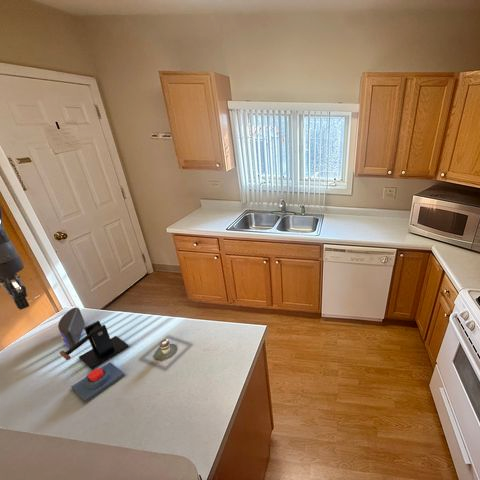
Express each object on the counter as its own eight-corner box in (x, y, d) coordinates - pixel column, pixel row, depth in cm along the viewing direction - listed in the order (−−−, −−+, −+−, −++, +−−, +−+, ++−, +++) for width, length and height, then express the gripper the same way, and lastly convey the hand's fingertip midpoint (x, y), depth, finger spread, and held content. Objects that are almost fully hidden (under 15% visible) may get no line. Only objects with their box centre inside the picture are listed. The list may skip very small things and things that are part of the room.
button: (93, 383, 82) (91, 379, 81) (87, 378, 83) (85, 374, 83) (106, 375, 85) (104, 371, 84) (100, 370, 86) (99, 366, 86)
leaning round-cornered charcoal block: (71, 326, 107) (63, 308, 103) (86, 322, 109) (78, 305, 106) (61, 353, 94) (51, 334, 91) (77, 349, 97) (69, 330, 93)
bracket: (91, 370, 89) (79, 342, 84) (79, 359, 93) (67, 332, 88) (128, 347, 99) (120, 321, 94) (116, 338, 103) (107, 312, 97)
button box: (85, 402, 79) (82, 396, 78) (72, 389, 83) (69, 382, 81) (124, 375, 88) (122, 369, 87) (111, 364, 91) (108, 358, 90)
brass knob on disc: (140, 359, 94) (137, 349, 92) (167, 336, 105) (165, 327, 103) (165, 369, 91) (162, 359, 89) (191, 344, 101) (189, 335, 99)
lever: (69, 361, 84) (63, 358, 83) (62, 355, 86) (57, 351, 85) (105, 331, 92) (101, 328, 91) (98, 326, 94) (94, 323, 93)
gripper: (-31, 256, 71) (-2, 306, 77) (-16, 269, 65) (14, 322, 72) (9, 247, 77) (32, 294, 84) (26, 258, 71) (49, 308, 78)
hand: (23, 307), depth 78 cm, fingers closed
